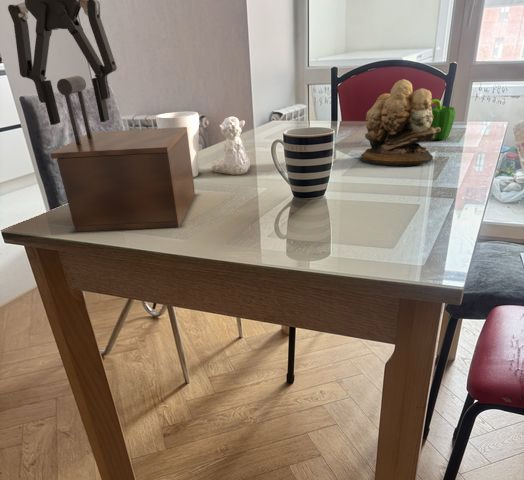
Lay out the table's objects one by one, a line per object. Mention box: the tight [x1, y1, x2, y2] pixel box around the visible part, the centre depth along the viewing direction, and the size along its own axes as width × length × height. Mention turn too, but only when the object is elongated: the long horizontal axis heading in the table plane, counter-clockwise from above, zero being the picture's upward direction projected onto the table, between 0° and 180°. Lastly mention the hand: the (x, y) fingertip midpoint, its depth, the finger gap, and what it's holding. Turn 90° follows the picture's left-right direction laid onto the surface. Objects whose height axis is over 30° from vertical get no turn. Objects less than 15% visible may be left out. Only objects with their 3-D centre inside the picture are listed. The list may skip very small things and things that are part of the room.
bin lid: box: [50, 75, 187, 160], centre depth 86 cm, size 19×20×11 cm
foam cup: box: [155, 111, 200, 178], centre depth 115 cm, size 10×9×13 cm
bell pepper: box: [430, 98, 456, 141], centre depth 136 cm, size 8×8×10 cm
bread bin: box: [56, 132, 196, 233], centre depth 92 cm, size 18×20×12 cm
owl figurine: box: [360, 78, 441, 167], centre depth 115 cm, size 18×12×17 cm, turn 57°
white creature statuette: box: [211, 115, 251, 176], centre depth 116 cm, size 10×9×12 cm
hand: (80, 122), depth 87 cm, fingers open, 8 cm apart
